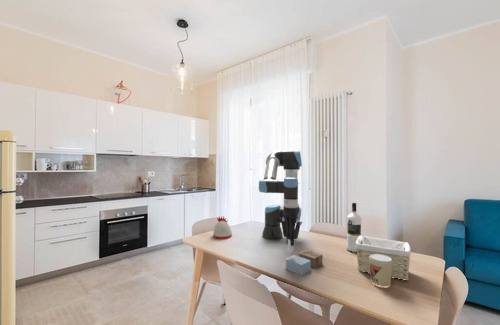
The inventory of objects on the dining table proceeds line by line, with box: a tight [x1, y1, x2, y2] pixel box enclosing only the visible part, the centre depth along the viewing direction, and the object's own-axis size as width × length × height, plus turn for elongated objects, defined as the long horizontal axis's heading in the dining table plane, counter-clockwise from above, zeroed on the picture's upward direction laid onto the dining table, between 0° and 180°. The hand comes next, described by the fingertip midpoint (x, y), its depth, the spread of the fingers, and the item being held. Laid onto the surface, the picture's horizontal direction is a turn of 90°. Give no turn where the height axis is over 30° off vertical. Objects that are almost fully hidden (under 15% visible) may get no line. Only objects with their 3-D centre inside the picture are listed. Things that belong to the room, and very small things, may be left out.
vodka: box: [345, 202, 362, 253], centre depth 151 cm, size 9×9×30 cm
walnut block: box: [298, 249, 323, 269], centre depth 131 cm, size 8×5×10 cm
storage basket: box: [356, 235, 412, 281], centre depth 122 cm, size 24×16×15 cm
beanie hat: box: [212, 215, 233, 240], centre depth 178 cm, size 14×14×15 cm
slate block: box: [284, 254, 311, 276], centre depth 123 cm, size 8×5×10 cm
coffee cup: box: [369, 254, 393, 286], centre depth 108 cm, size 9×9×12 cm
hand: (290, 251), depth 126 cm, fingers closed
